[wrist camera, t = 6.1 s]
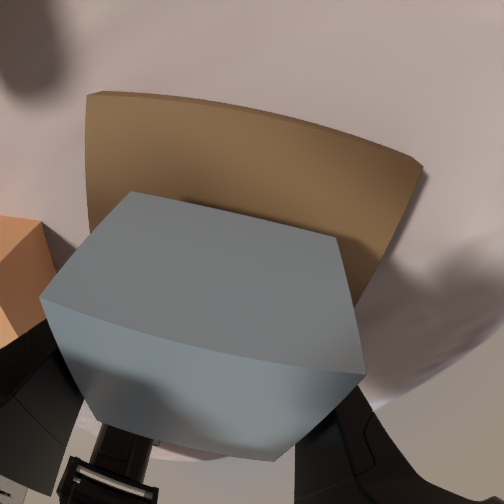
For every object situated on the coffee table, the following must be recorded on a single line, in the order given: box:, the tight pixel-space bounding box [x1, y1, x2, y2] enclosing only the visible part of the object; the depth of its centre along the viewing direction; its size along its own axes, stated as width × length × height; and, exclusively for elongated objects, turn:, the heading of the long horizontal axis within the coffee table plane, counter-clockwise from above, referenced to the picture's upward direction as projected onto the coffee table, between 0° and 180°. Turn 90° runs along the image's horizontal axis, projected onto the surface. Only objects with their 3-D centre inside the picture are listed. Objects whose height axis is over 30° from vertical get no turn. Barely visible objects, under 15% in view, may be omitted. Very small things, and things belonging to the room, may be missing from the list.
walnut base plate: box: [85, 91, 424, 308], centre depth 11 cm, size 11×11×1 cm
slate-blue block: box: [39, 191, 367, 462], centre depth 8 cm, size 6×6×4 cm
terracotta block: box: [0, 215, 57, 348], centre depth 12 cm, size 6×6×4 cm
